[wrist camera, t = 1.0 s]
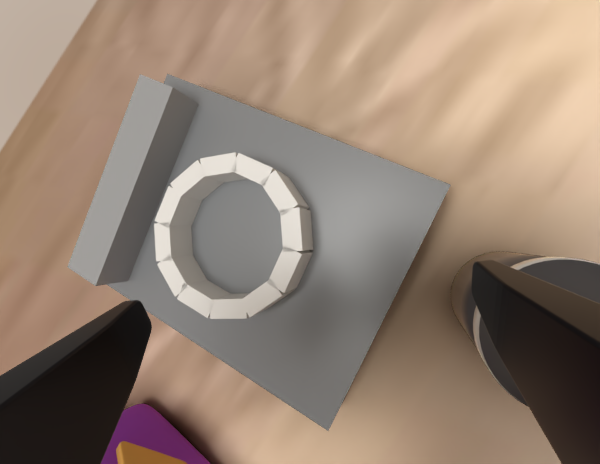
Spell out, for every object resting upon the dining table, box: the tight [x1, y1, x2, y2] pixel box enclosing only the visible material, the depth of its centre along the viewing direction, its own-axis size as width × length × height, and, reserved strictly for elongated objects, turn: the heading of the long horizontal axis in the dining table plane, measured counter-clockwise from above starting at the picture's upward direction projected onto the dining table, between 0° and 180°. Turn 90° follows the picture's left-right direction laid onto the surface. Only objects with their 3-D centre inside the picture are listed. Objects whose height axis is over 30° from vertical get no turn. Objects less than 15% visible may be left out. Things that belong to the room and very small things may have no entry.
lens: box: [451, 252, 600, 407], centre depth 14 cm, size 5×5×8 cm
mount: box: [68, 74, 450, 431], centre depth 20 cm, size 18×14×5 cm
